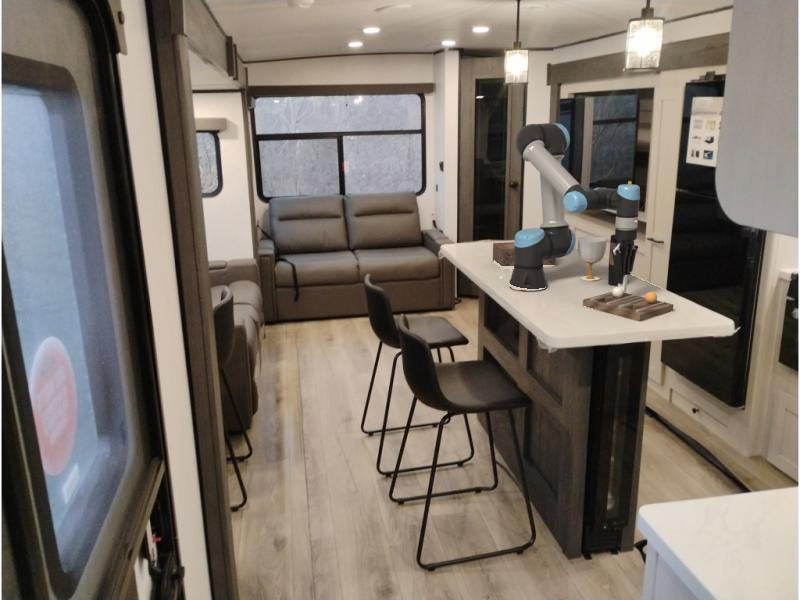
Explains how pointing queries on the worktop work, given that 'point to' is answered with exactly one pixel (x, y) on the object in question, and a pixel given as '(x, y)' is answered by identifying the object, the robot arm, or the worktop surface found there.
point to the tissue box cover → (510, 254)
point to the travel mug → (612, 264)
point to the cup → (591, 251)
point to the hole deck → (628, 306)
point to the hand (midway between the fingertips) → (622, 291)
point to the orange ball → (651, 297)
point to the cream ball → (617, 292)
